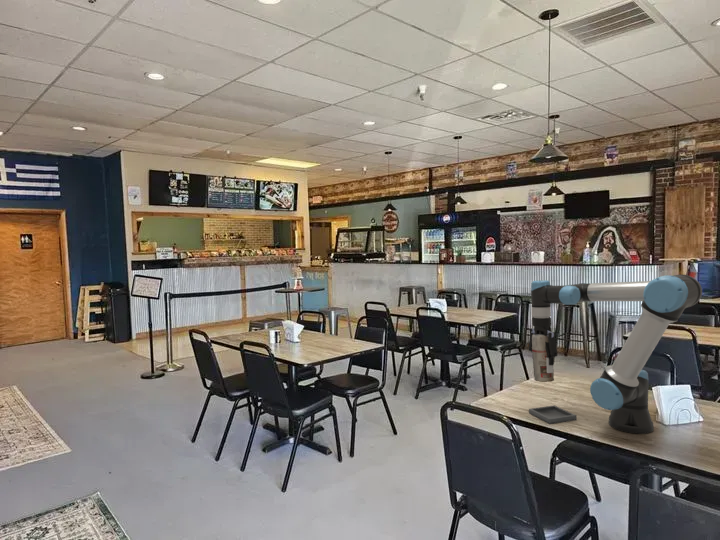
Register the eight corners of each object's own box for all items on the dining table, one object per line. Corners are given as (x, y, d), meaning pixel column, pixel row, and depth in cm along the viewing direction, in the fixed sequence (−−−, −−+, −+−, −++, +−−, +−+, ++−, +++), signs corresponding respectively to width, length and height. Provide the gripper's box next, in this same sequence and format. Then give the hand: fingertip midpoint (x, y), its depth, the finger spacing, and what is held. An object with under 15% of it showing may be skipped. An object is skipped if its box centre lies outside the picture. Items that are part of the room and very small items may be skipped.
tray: (576, 420, 189) (576, 415, 189) (549, 424, 185) (549, 419, 185) (554, 409, 202) (554, 405, 202) (528, 413, 198) (528, 408, 198)
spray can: (531, 382, 195) (530, 334, 195) (534, 377, 202) (532, 331, 202) (553, 383, 191) (551, 335, 191) (555, 378, 198) (553, 332, 198)
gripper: (566, 318, 187) (568, 374, 188) (533, 313, 207) (534, 364, 208) (550, 320, 185) (552, 376, 186) (518, 315, 205) (520, 366, 206)
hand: (543, 370), depth 197 cm, fingers closed on spray can, 8 cm apart
